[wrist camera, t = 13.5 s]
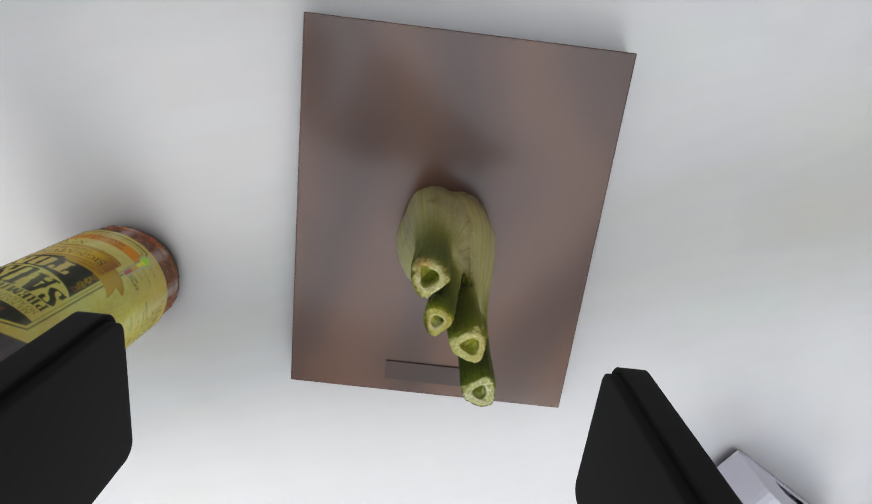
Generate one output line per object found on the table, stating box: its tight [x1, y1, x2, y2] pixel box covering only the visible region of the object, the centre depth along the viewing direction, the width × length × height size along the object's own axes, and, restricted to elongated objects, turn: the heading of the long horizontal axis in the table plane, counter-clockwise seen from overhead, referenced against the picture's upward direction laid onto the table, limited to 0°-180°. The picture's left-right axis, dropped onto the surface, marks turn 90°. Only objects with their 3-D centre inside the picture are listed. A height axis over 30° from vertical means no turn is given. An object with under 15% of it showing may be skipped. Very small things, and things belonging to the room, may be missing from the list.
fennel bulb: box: [396, 186, 496, 407], centre depth 23 cm, size 6×5×12 cm
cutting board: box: [291, 12, 636, 408], centre depth 29 cm, size 16×20×2 cm
